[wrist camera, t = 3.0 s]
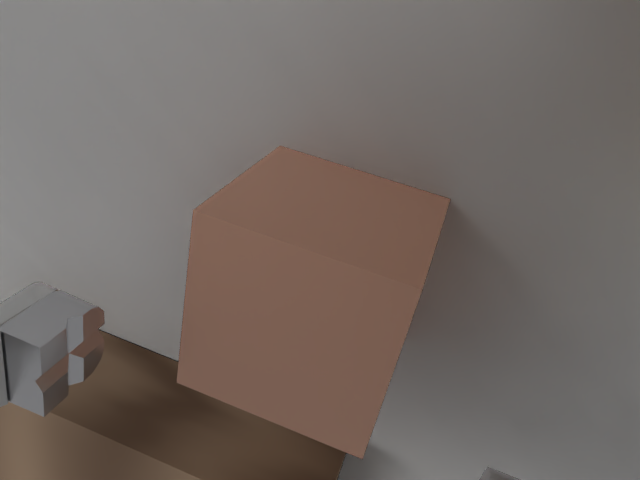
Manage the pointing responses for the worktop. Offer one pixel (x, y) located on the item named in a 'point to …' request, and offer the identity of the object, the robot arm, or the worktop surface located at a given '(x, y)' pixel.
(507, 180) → the worktop surface
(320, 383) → the terracotta block
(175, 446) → the walnut plinth
